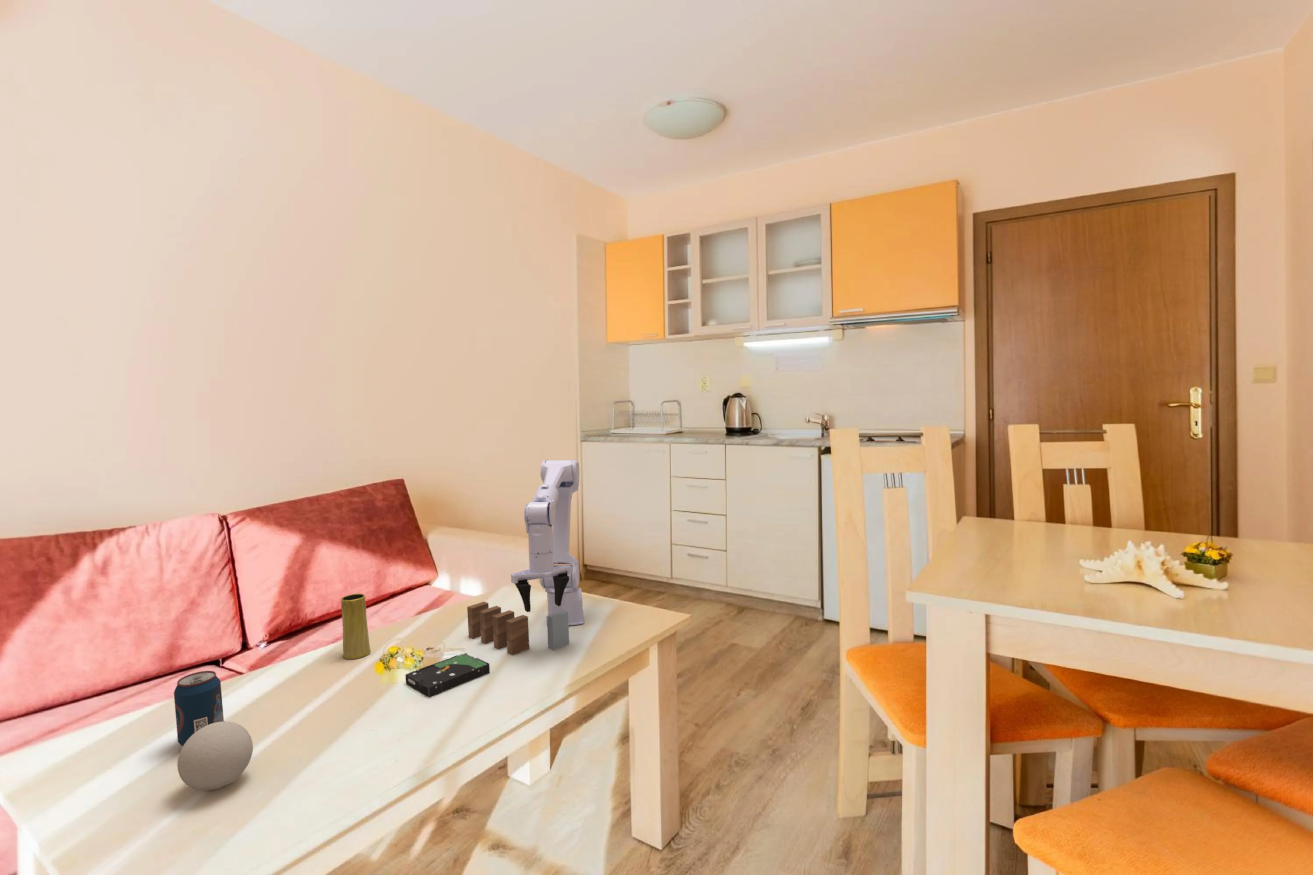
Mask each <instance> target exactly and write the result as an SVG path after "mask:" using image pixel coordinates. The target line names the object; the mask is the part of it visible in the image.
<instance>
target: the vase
mask: <svg viewBox="0 0 1313 875" xmlns="http://www.w3.org/2000/svg"><path fill="white" fill-rule="evenodd" d="M340 601H341V602H340V605H341V621H342V651H343V652H342V658H344V659H345V660H357V659H361V658H363V657H366V656H368V655H369V654H370V653H371V651H372V650H371V646H370V637H369V628H368V627H369V626H368V620H367V619H368V617H367V604H366V595H365V594H364V593H351V594H348V595H347V594H346V595H344V596H342V597H341V598H340Z"/></svg>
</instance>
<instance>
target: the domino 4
mask: <svg viewBox="0 0 1313 875" xmlns="http://www.w3.org/2000/svg"><path fill="white" fill-rule="evenodd" d="M546 625H547V629H546V630H547V646H548V647H547V648H548V649H550V650H552V651H555V650H557V649H559V648H562V647H564V646H567V645H569V644H570V631H569V630H570V628H569V626H570V625H569V624H568V612H567V611H563V610H562V611H559V612H557V613H554V614H551V615H548V614H547V620H546Z"/></svg>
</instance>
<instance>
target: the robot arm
mask: <svg viewBox="0 0 1313 875" xmlns="http://www.w3.org/2000/svg"><path fill="white" fill-rule="evenodd" d="M540 478H541V481H542V484H541V485H539V486H538V487H537V488H536V491H535V493H534V495H533V498H532V501H529V503H526V504H525V506H524V512H523V513H524V515H523V517H524V524H525V531H526V534H528V536H527V537H528V538H527V539H528V561H529V562H528V563H529V564H528V565H529V567H528V569H526V570H522V571H518V572H517V571H516V572H513V573H510V582H511V583H512V584H514V585H515V587H516V588H517V590H518V592H519V595H520V597H521V600H522V603H523V607H524V611H525V612H527V613H531V610H532V609H531V590H532V589H531V588H532V585H531V584H530V582H529V581H533V580H539V583H540V586H541V588H542V589H544V592H545V593H547V594H546V597H547V616H548V615H551V614H554V613H557V612H559V611H562V610H563V611H567V612H568V624H569V626H576V625H584V608H583V603H584V602H583V592H582V588H581V587H579V584H580V578H581V577H580V574H581V573H580V567H579V565H580V562H579V560H578V559H577V558H576V557H575V556H574V555H573V554H571V553H570V536H571V535H570V534H571V512H572V511H571V510H572V506H571V505H572V497H573V494H574V493H575V492H577V491H579V486H580V464H579V461H578V460H577V459H561V460H560V459H557V460H556V459H555V460H554V459H553V460H547V459H544V460H543V461H542V462H541V465H540ZM547 616H545V619H546V621H547Z"/></svg>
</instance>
